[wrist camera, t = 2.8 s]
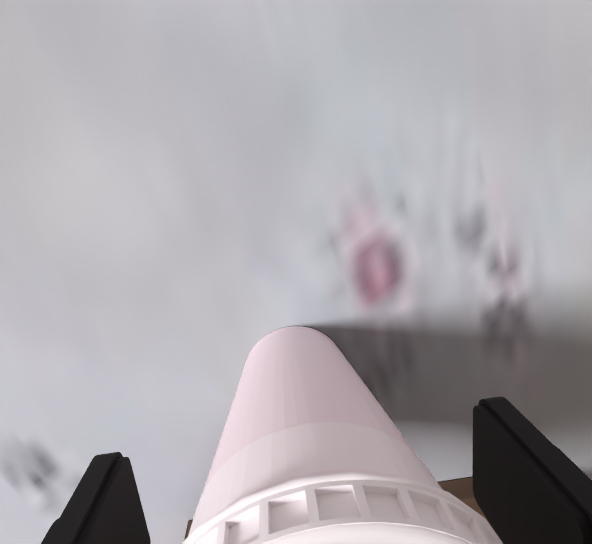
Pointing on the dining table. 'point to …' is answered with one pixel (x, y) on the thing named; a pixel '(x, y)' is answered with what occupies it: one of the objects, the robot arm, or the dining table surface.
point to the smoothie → (320, 461)
